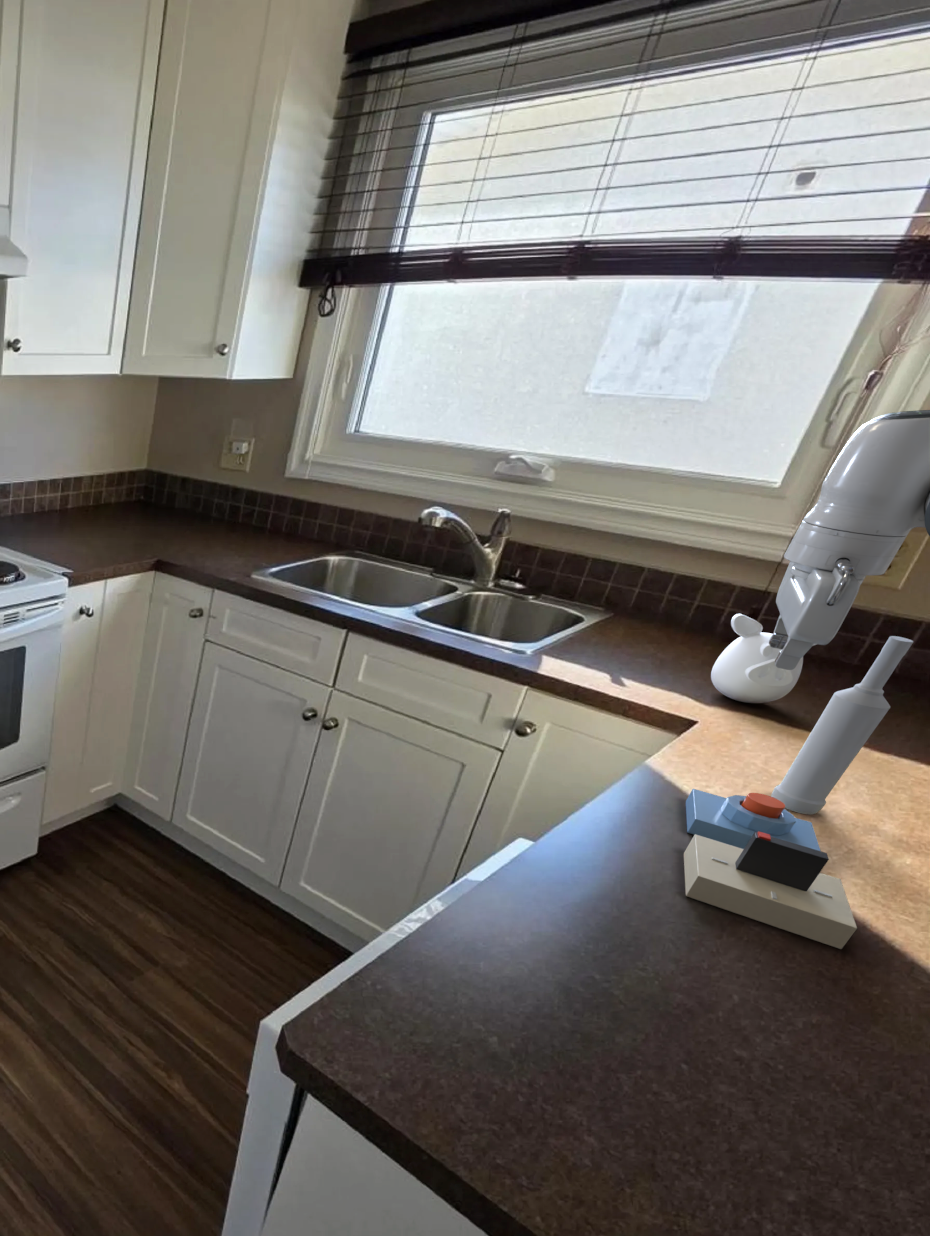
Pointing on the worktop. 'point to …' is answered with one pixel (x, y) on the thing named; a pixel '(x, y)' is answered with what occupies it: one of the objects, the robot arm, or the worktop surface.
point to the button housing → (742, 822)
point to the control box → (767, 894)
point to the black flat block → (781, 861)
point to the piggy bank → (752, 666)
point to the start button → (763, 805)
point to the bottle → (839, 734)
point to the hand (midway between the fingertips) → (779, 657)
